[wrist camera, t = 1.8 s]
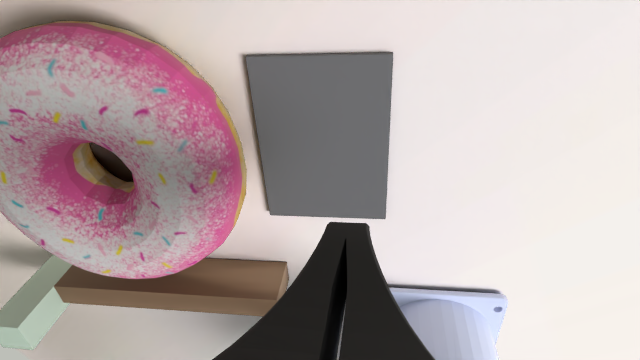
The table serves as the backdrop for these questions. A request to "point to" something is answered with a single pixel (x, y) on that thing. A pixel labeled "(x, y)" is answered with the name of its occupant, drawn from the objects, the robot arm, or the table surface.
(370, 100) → the grey flat panel
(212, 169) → the donut
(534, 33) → the table surface
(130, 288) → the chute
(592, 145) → the table surface
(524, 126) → the table surface
